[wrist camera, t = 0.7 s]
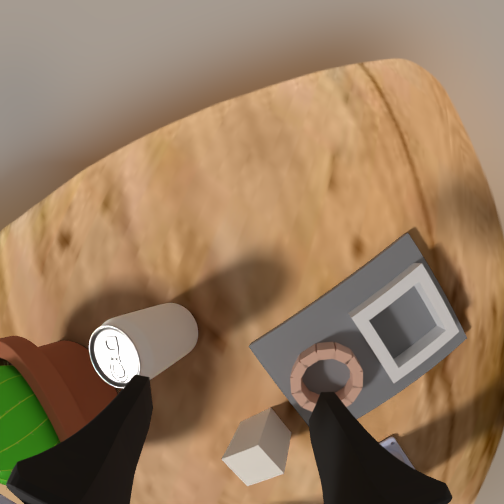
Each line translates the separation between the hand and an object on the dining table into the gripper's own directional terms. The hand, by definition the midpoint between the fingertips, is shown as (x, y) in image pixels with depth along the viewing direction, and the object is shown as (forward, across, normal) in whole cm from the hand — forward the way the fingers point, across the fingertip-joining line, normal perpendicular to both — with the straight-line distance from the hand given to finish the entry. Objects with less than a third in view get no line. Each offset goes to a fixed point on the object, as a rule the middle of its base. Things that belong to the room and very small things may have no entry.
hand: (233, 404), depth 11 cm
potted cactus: (+20, +22, +26) cm, 39 cm away
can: (+20, +6, +11) cm, 24 cm away
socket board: (+15, -14, +7) cm, 22 cm away
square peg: (+13, -6, +20) cm, 24 cm away
